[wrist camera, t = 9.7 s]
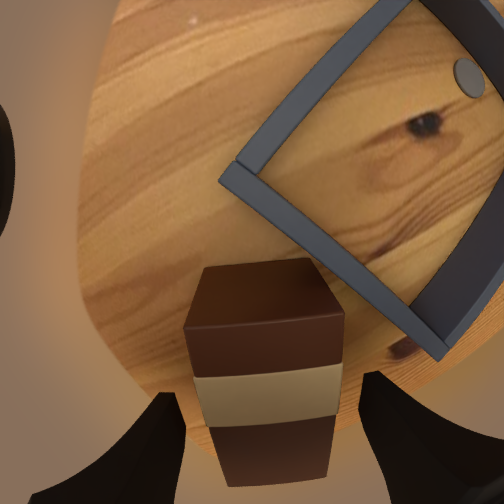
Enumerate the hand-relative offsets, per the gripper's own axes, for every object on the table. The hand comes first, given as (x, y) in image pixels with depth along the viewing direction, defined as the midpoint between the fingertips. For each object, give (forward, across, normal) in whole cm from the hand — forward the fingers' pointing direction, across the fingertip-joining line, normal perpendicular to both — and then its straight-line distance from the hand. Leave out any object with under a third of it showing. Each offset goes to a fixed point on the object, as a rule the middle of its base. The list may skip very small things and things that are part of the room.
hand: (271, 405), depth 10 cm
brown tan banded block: (+4, 0, 0) cm, 4 cm away
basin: (+4, -8, -9) cm, 13 cm away
